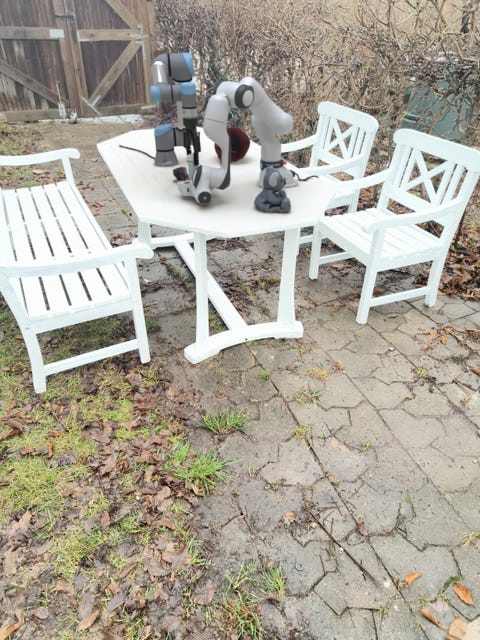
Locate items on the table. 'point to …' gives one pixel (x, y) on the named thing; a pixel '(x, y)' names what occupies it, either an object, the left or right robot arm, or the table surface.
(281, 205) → the koala plush
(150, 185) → the table surface
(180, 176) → the rock
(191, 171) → the jar
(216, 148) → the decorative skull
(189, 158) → the lid
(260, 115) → the right robot arm
